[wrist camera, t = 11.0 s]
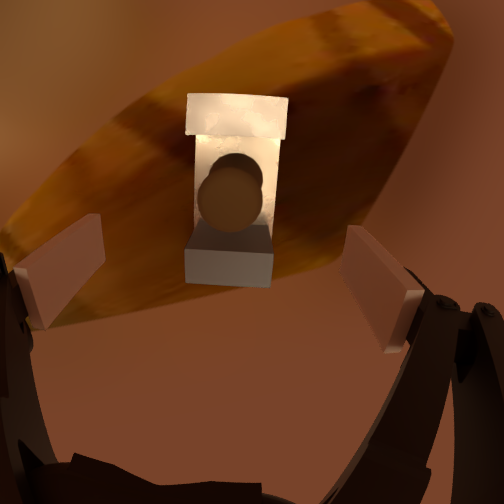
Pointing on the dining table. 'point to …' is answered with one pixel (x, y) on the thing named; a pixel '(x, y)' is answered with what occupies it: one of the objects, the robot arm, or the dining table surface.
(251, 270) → the block
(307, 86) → the dining table surface
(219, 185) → the wooden pawn
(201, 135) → the vise
